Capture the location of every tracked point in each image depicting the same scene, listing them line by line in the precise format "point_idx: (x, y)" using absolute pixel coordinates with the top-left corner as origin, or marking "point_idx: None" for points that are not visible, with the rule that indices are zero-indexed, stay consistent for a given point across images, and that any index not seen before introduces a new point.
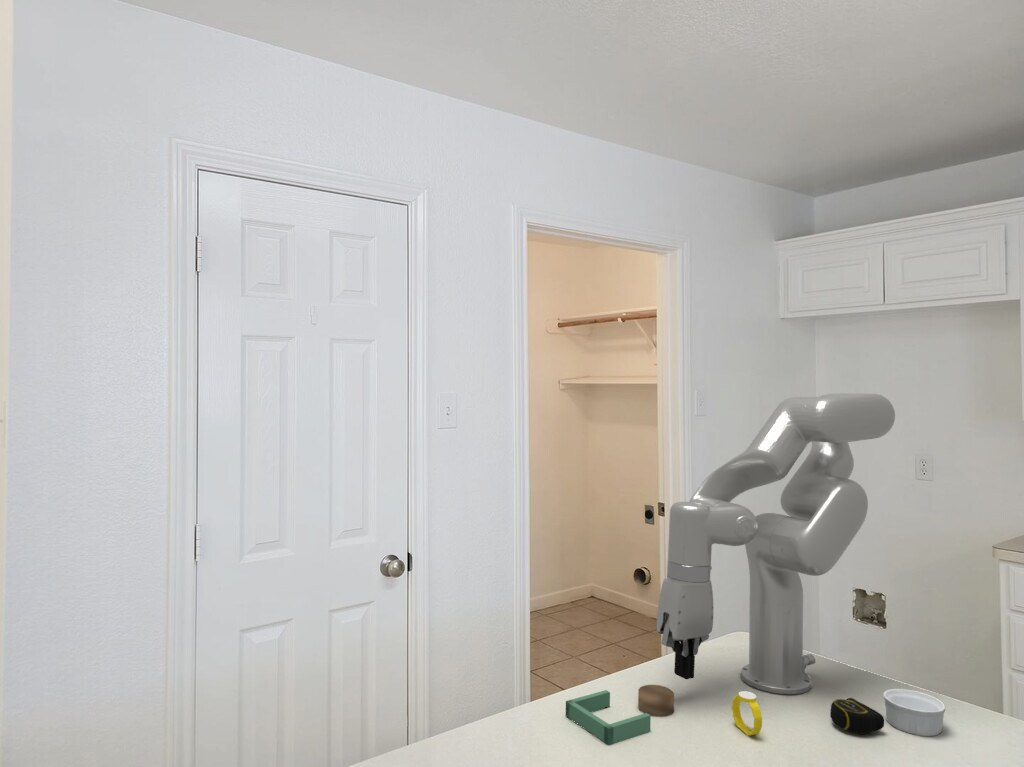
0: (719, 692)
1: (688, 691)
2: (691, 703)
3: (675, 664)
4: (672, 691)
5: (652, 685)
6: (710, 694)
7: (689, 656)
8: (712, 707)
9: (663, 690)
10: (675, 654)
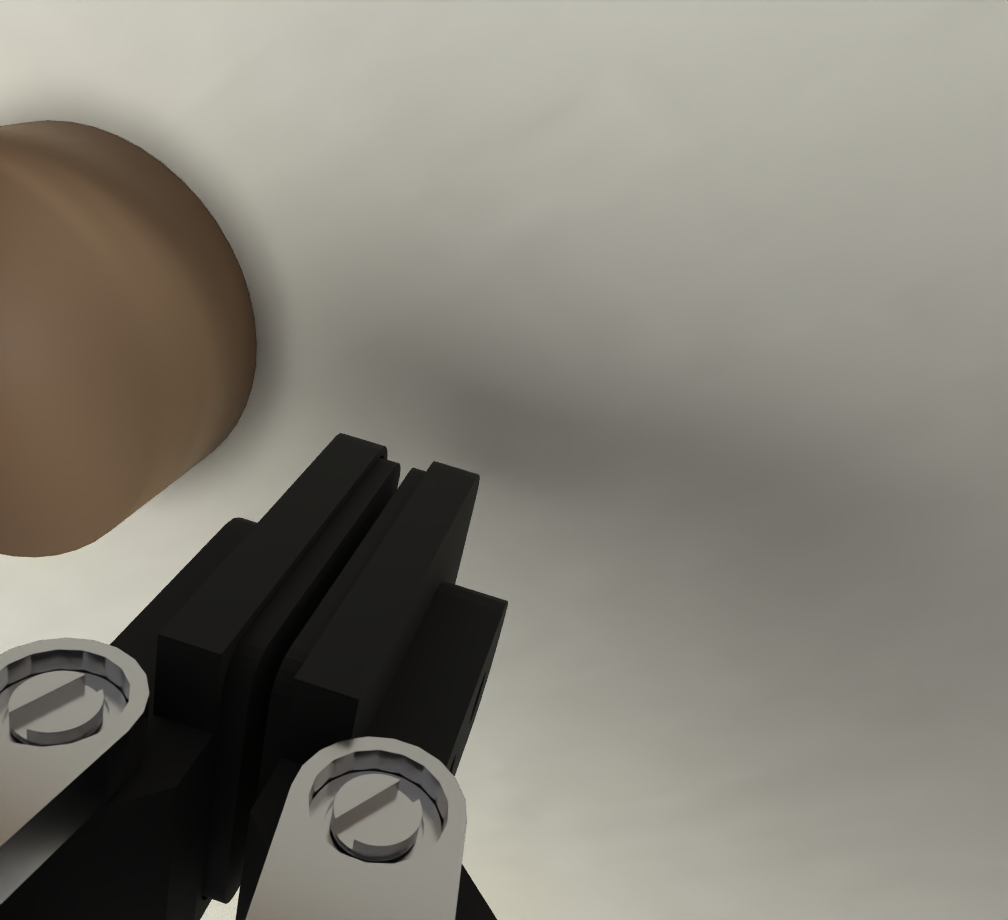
0: (964, 653)
1: (733, 374)
2: None
3: (193, 562)
4: (128, 502)
5: (43, 234)
6: (832, 596)
7: (180, 917)
8: (537, 700)
9: (58, 414)
10: (196, 599)
